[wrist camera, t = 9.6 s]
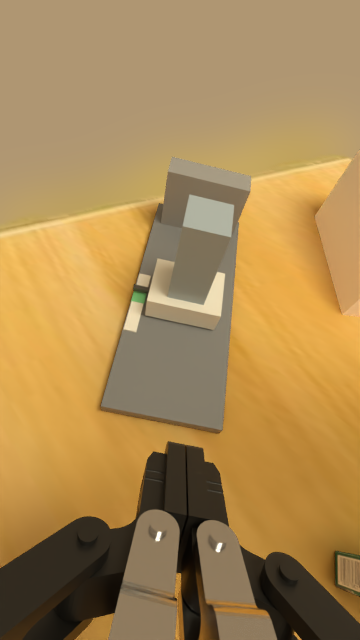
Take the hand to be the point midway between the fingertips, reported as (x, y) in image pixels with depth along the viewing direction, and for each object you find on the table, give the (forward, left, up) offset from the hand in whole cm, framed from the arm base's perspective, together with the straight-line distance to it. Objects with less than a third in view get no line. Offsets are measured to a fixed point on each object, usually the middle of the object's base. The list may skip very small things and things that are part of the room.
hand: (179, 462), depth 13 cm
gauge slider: (+1, -23, -16) cm, 29 cm away
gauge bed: (0, -21, -18) cm, 27 cm away
